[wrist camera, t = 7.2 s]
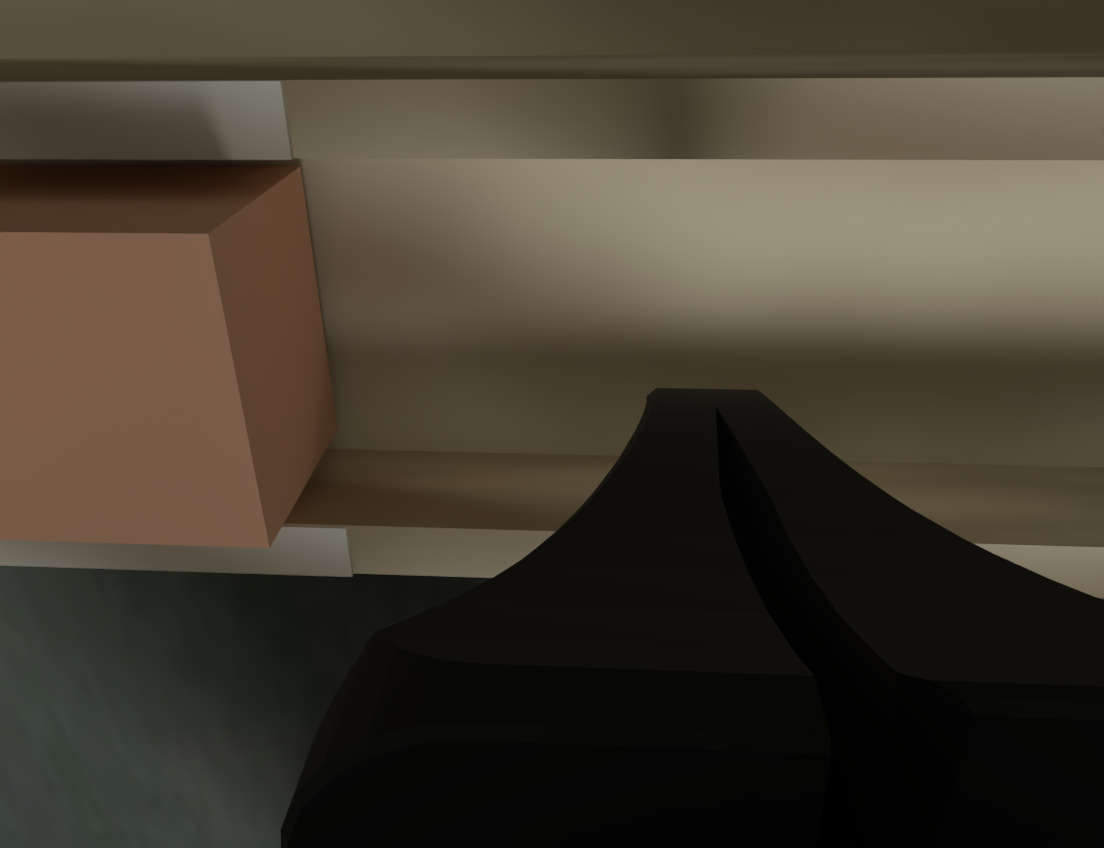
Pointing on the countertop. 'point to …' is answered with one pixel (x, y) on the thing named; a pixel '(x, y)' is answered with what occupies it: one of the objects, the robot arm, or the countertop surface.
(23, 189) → the block
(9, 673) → the countertop surface
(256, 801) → the countertop surface
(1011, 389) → the chute
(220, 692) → the countertop surface
